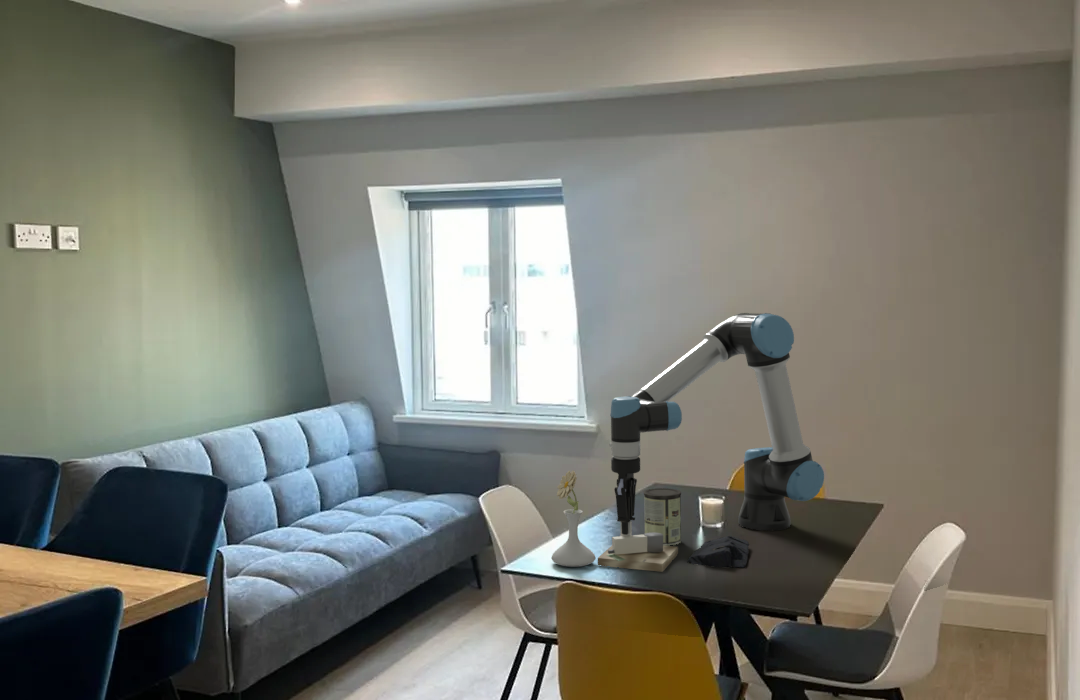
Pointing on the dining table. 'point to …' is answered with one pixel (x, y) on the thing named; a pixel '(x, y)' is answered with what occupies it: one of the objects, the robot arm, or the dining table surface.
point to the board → (640, 559)
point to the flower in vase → (572, 530)
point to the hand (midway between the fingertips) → (626, 545)
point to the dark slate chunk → (722, 553)
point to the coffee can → (663, 514)
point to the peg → (637, 543)
